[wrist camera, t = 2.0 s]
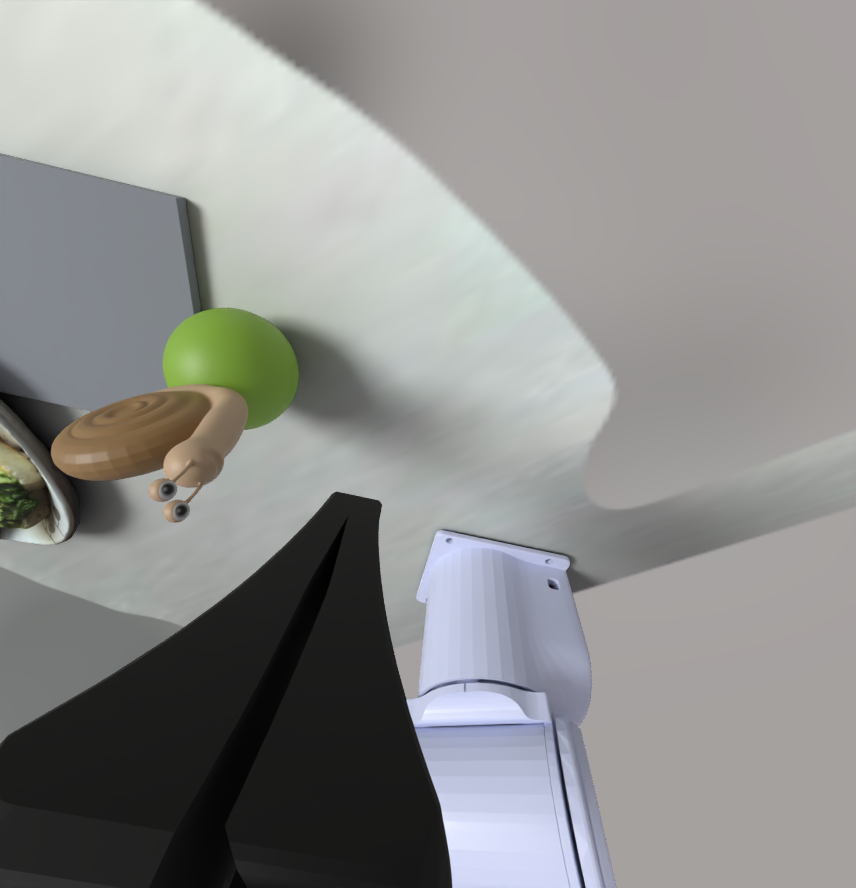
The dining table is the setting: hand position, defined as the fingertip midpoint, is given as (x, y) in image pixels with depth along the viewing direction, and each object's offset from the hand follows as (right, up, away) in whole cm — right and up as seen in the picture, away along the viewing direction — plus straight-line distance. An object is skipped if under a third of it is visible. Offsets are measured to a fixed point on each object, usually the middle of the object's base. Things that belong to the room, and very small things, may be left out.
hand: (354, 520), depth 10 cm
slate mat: (-17, +9, +8) cm, 21 cm away
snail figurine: (-6, +7, +8) cm, 13 cm away
